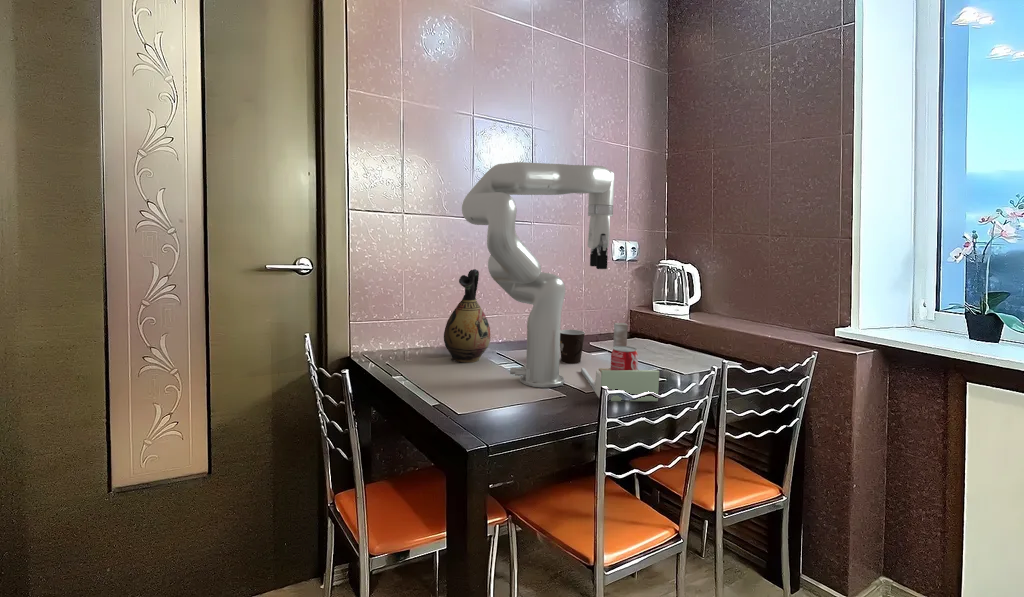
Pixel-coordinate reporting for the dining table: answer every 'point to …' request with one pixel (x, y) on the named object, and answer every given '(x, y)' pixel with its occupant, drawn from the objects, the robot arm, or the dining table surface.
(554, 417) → the dining table surface
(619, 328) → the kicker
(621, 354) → the soda can
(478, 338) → the ceramic jug
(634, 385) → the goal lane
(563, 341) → the coffee mug
